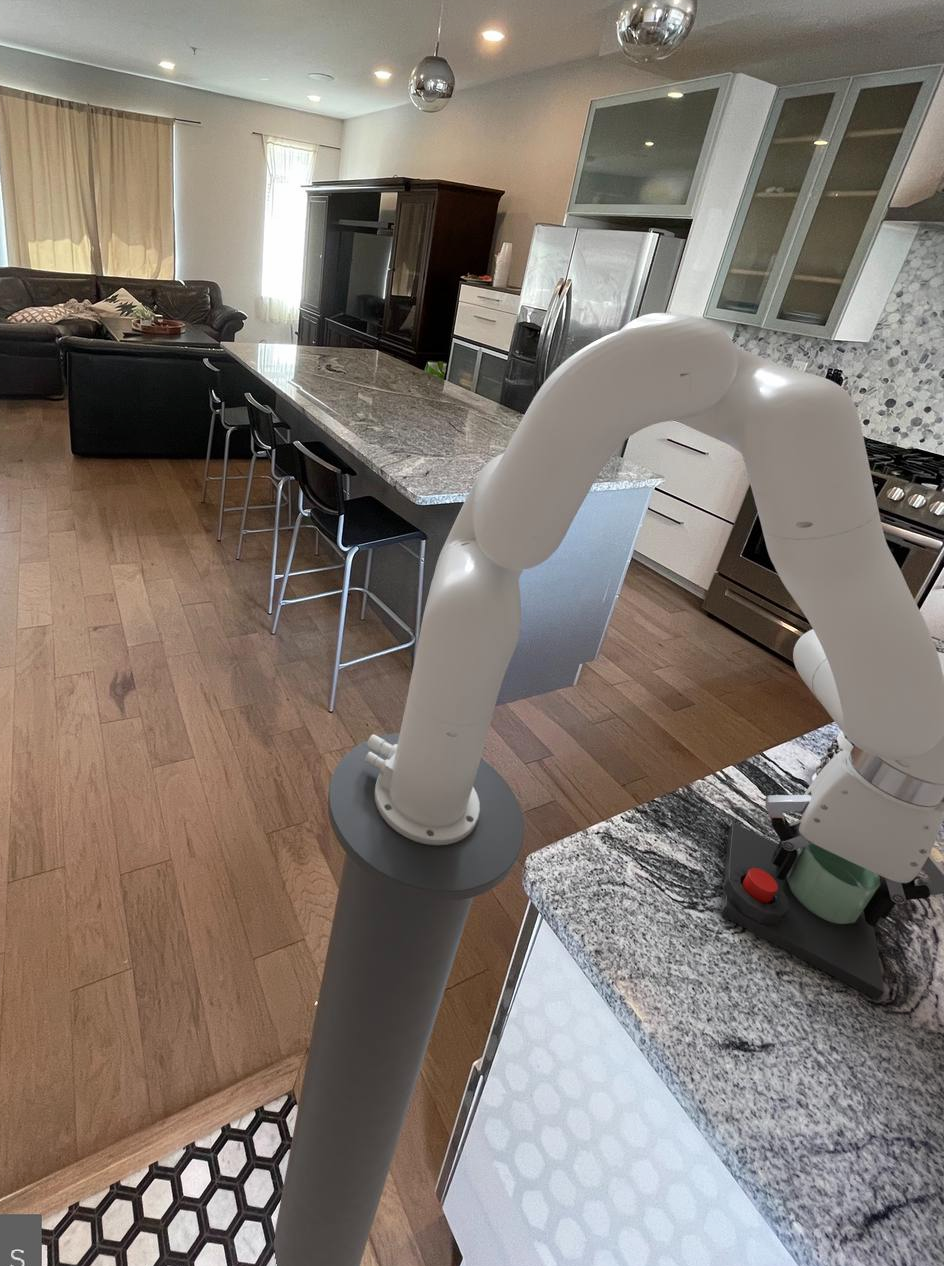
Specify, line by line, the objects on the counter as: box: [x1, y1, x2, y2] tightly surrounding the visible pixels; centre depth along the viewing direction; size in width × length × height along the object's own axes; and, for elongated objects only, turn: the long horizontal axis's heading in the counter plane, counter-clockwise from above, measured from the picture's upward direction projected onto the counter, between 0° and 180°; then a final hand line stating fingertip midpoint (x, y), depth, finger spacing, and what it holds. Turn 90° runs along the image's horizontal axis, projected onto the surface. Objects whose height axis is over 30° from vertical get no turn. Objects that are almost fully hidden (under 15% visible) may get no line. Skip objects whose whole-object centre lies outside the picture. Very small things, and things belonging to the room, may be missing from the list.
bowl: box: [787, 844, 881, 924], centre depth 68 cm, size 7×7×6 cm
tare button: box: [743, 868, 778, 903], centre depth 67 cm, size 3×3×2 cm
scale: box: [720, 822, 885, 1001], centre depth 69 cm, size 14×14×3 cm
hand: (822, 891), depth 69 cm, fingers open, 7 cm apart
